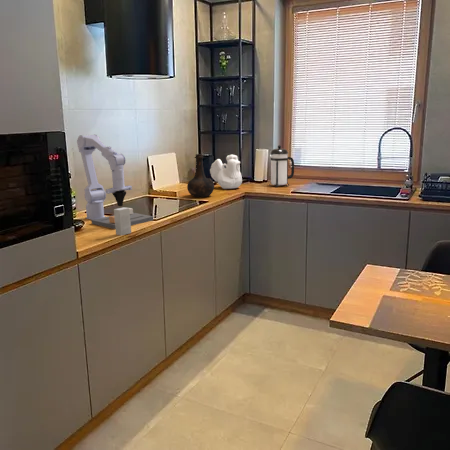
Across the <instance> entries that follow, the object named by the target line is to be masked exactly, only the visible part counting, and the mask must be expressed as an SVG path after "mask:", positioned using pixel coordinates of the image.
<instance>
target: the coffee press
mask: <svg viewBox="0 0 450 450" xmlns="http://www.w3.org/2000/svg"><path fill="white" fill-rule="evenodd" d="M281 147H282V146H281V145H280V144H279V145H278V146H277V148H273V149H271V151H270V155H269V157H270V183H269V186H270V187H271V186H275V188H278V187H279V186H286V187H289V186H290V184H289V182H288V180H289V179H293V177H294V175H295V160H294V159H293V157H292V156H288V154H289V151H288V150H287V149H286V148H281ZM289 160H290V161H291V167H290V168H291V169H290V170H291V171H290V172H291V174H290V175H289V176H288V173H289V172H288V170H289V168H288V167H289V165H288V164H289Z"/></svg>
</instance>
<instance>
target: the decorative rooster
mask: <svg viewBox="0 0 450 450" xmlns="http://www.w3.org/2000/svg"><path fill="white" fill-rule="evenodd" d="M238 158H239V157H238V155H236V154H229V155H227V156H226V157H225V159H226V162H227V163H223V162H222V160H221V159H220V158H217V159H216V160H214V162H213V163H211V166H210V169H209V174H210V176H211V178H212V179H213V180H214V181H215V182H217V183H218V185H219V186H220V187H221V188H222V189H224V190H227V189H229V190H230V189H237V188H239V187H240V186H241V185H242V183H243V178H242V172H241V167H240V166H241V165H240V164H241V161H240V160H239V159H238Z"/></svg>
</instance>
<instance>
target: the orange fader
mask: <svg viewBox="0 0 450 450" xmlns="http://www.w3.org/2000/svg"><path fill="white" fill-rule="evenodd" d="M109 216H110V217H109V222H111V223H115V218H114V216H112V215H109Z"/></svg>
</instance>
